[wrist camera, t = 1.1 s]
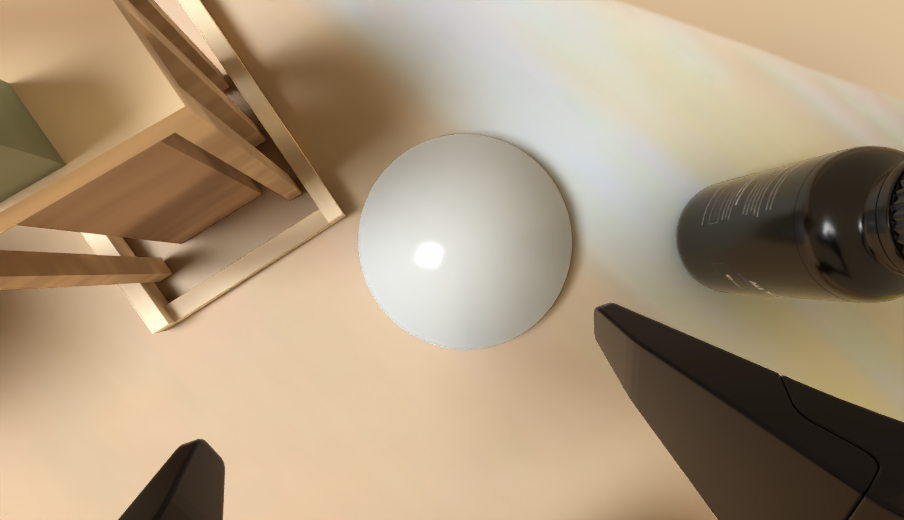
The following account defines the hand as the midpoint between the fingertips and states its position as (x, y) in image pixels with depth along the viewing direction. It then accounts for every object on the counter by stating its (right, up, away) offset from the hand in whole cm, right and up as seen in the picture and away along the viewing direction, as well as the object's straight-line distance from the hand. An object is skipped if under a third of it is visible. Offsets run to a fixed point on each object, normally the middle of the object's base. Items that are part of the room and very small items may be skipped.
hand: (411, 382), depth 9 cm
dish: (+2, +4, +15) cm, 15 cm away
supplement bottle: (+18, +4, +17) cm, 25 cm away
